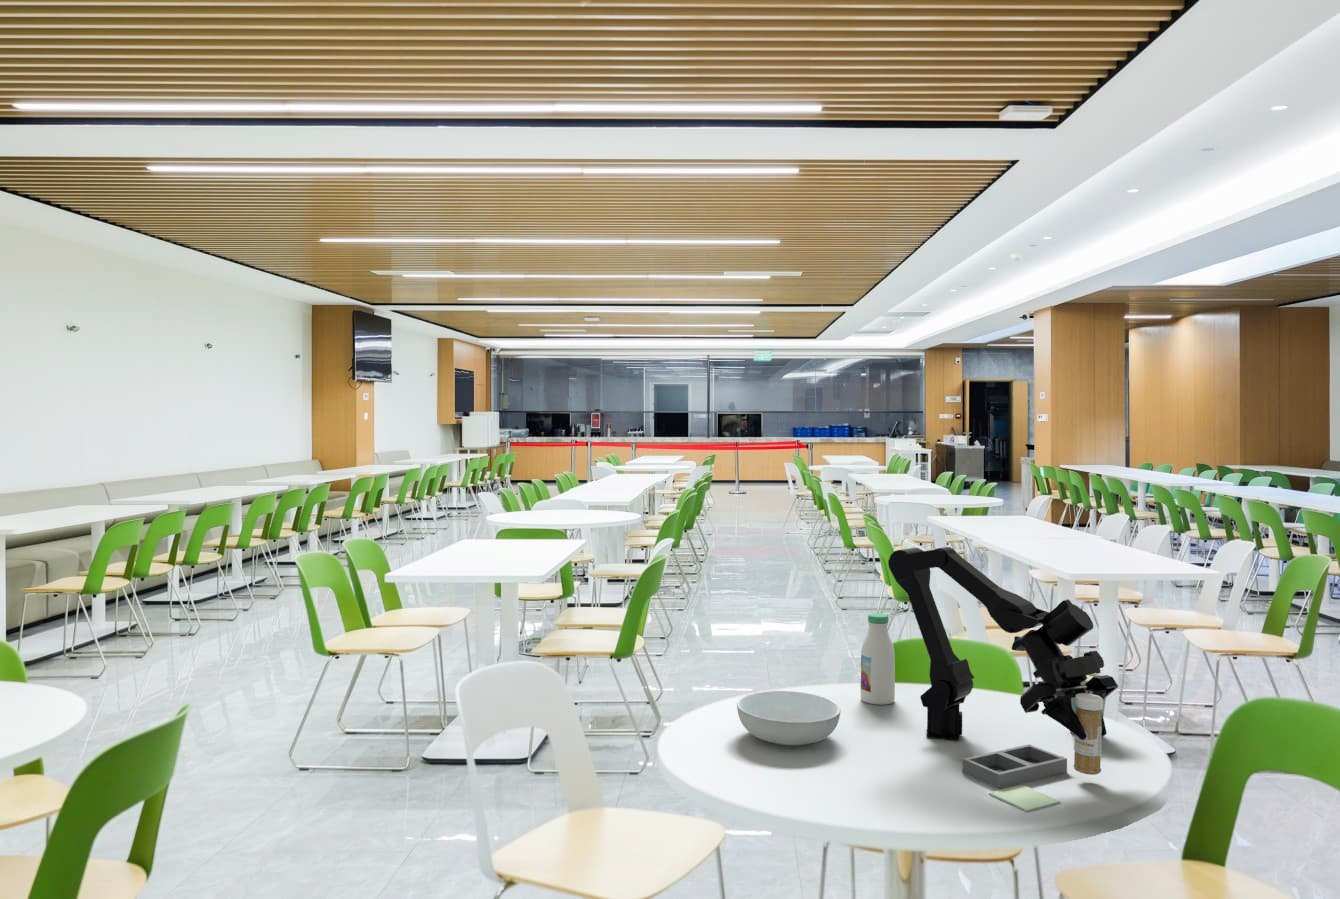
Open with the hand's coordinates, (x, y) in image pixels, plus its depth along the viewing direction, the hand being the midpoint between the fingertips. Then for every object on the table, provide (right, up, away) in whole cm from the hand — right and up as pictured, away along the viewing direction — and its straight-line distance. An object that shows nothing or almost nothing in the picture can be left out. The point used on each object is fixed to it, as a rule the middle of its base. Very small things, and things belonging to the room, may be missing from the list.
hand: (1094, 736), depth 160 cm
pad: (-15, -9, -6) cm, 18 cm away
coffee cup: (+11, -8, +27) cm, 31 cm away
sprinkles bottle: (-1, -7, +1) cm, 7 cm away
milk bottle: (-27, -8, +50) cm, 57 cm away
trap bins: (-12, -8, +6) cm, 16 cm away
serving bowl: (-51, -8, +24) cm, 57 cm away
